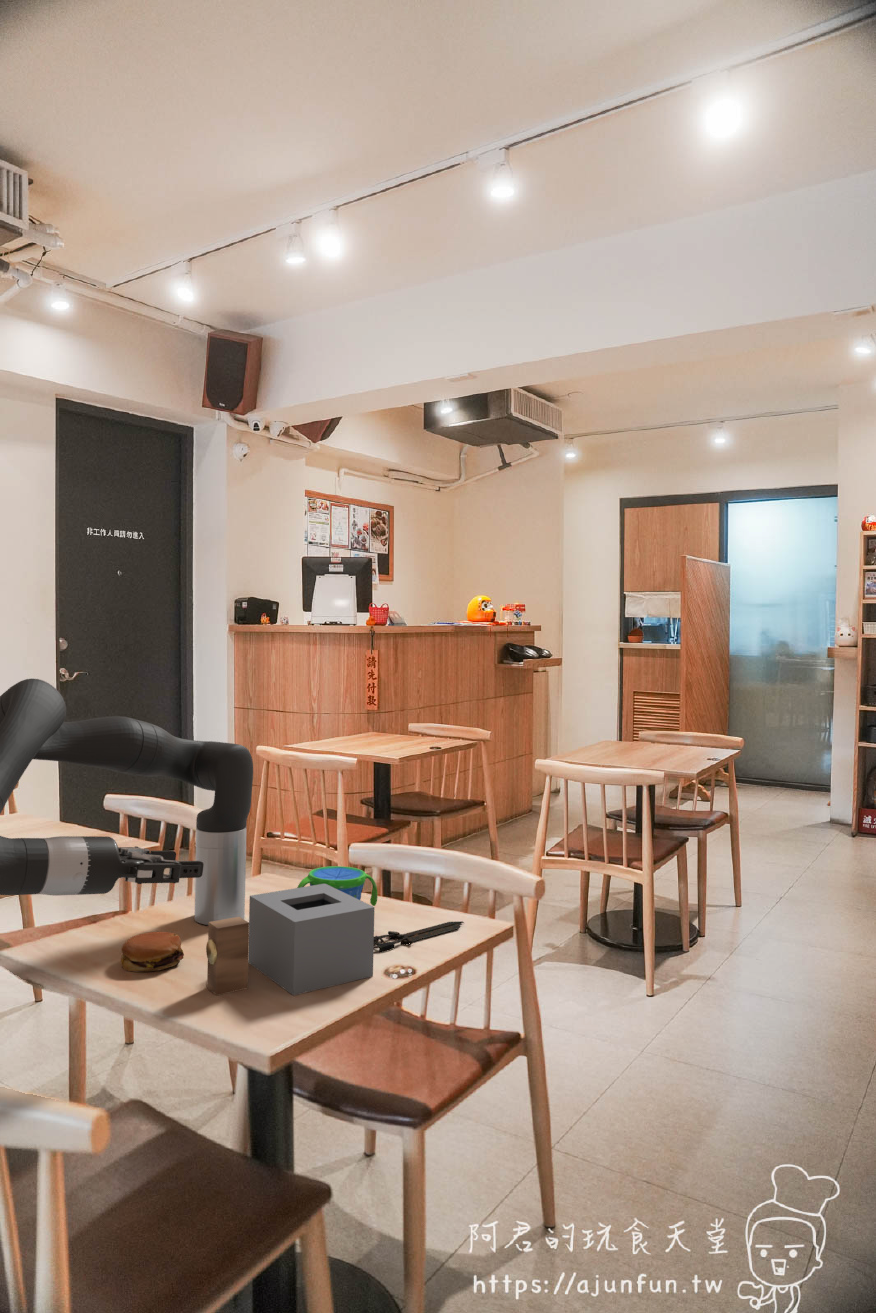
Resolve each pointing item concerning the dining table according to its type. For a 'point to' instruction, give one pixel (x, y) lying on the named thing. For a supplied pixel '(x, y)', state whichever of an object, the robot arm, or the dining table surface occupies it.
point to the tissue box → (311, 937)
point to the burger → (151, 951)
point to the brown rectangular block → (227, 955)
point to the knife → (413, 935)
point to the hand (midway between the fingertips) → (187, 863)
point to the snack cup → (341, 880)
